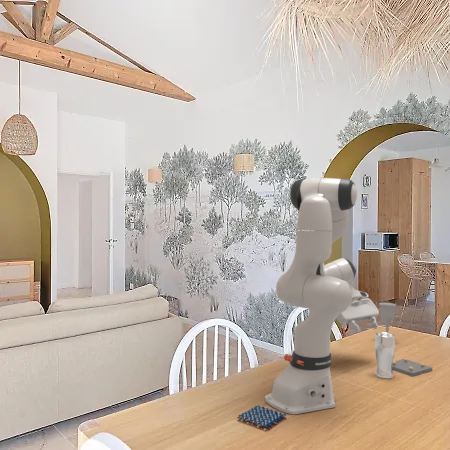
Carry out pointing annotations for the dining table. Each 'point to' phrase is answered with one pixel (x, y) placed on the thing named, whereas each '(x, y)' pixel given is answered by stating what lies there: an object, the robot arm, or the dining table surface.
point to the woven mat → (261, 417)
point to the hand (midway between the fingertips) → (368, 329)
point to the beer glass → (384, 354)
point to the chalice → (387, 313)
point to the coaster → (410, 367)
